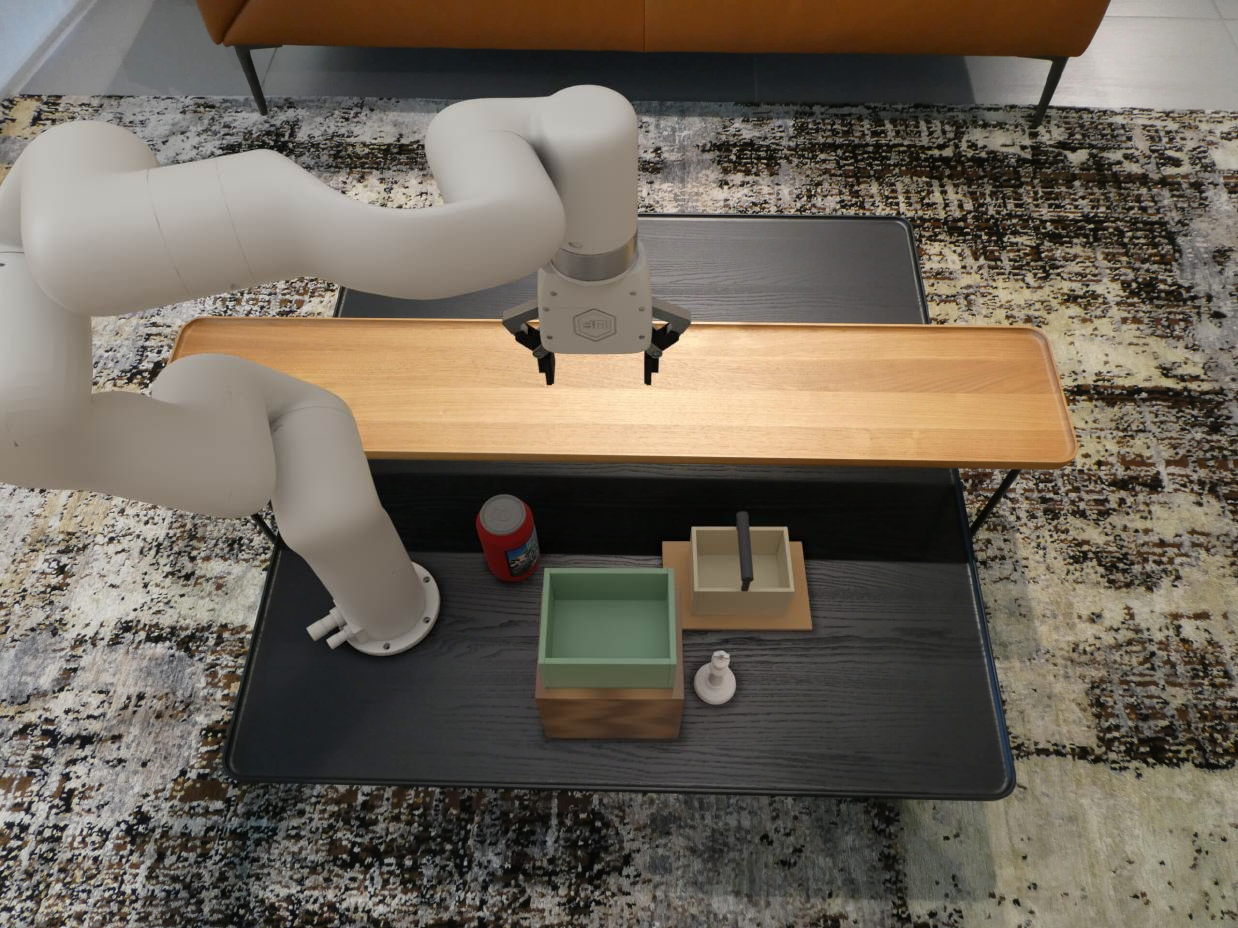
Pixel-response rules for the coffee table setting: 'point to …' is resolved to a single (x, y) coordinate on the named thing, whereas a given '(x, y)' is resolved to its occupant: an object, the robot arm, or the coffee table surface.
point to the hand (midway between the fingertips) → (599, 374)
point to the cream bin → (740, 570)
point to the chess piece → (715, 680)
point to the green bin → (608, 628)
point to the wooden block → (614, 705)
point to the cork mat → (794, 619)
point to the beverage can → (508, 537)
